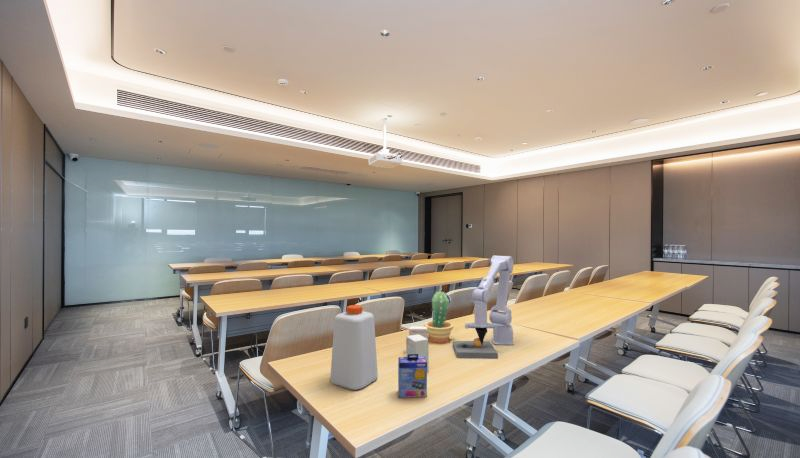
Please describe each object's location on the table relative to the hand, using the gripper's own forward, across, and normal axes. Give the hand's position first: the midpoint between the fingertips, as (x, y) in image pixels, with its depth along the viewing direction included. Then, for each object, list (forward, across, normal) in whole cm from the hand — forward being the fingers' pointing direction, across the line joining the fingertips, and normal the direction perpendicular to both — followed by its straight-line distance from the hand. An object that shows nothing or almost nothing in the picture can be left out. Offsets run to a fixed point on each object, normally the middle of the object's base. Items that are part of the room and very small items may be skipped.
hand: (480, 343), depth 157 cm
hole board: (+4, -3, 0) cm, 5 cm away
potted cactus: (+4, -18, +18) cm, 25 cm away
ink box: (+4, -29, -1) cm, 30 cm away
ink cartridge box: (+5, -32, -41) cm, 53 cm away
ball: (0, -2, 0) cm, 2 cm away
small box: (+4, -30, -20) cm, 37 cm away
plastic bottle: (+5, -54, -31) cm, 63 cm away
